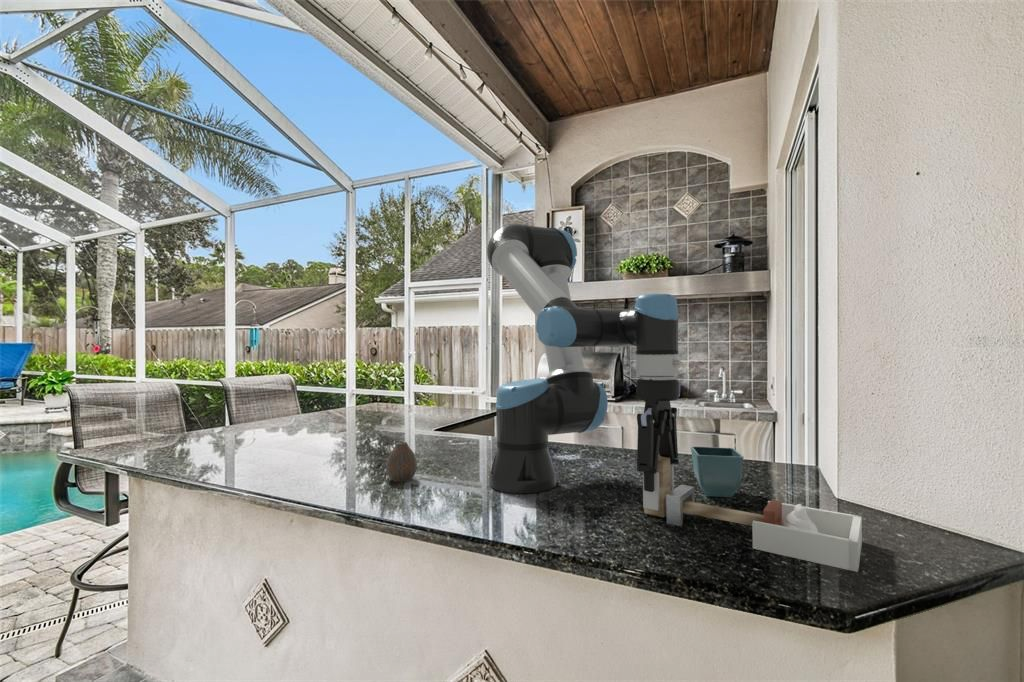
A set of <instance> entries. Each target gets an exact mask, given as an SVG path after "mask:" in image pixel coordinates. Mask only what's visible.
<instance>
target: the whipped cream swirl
mask: <svg viewBox="0 0 1024 682" xmlns="http://www.w3.org/2000/svg"><path fill="white" fill-rule="evenodd" d="M795 505H796V506H795V508H794V511H792V512H791V513H790V514H788V515H787V517H786V519H785V520H784V521H783V522H782V524H781V526H785V527H790V528H795V529H800V530H806V531H811V532H816V533H819V532H817V527H816V526H815V524H814V523H813V522H811V520H810V519H809V517H808V515H807V511H806V509H805V508H804V507H805V506H804V507H803V504H802V503H798V504H795Z"/></svg>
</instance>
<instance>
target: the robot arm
mask: <svg viewBox="0 0 1024 682" xmlns="http://www.w3.org/2000/svg"><path fill="white" fill-rule="evenodd" d="M486 255H487V261H488V262H489V265H490V267H492V269H493V270H494V272H495V273H497V274H498V275H499V276H502V277H505V279H506V281H508V283H510V285H511V286H512V287H513V289H514V290H515V291H516V292H517V293H518V295H519V296H520V297H521V299H522V300H523V302H524V303H525V304H526V305H527V306H528V308H530V310H531V311H532V313H533V314H534V315H535V317H536V323H535V325H536V326H535V330H536V331H535V332H536V333H537V338H538V339H539V342H540V343H541V344H542V345H544V348H545V354H546V361H547V367H548V375H547V376H546V377H545V379H544V378H530V379H529V378H528V379H521V380H513V381H510V382H505V383H504V384H502V385H500V386H499V387H498V388H497V390H496V391H497V392H496V403H495V408H496V411H495V412H496V413H495V414H496V452H495V455H494V459H493V462H492V465H491V470H490V472H489V486H490V487H491V488H492V489H494V490H497V491H500V492H504V493H513V494H533V493H534V494H535V493H541V492H542V493H543V492H545V491H548V490H551V489H554V488H555V487H556V486H557V473H556V471H555V467H554V463H553V461H552V458H551V454H550V450H549V436H552V435H553V436H554V435H561V434H562V435H563V434H574V433H578V434H582V433H585V432H590V431H594V430H596V429H598V428H599V427H600V426H601V425H602V424H603V423H604V420H605V417H606V416H607V412H608V405H609V404H608V395H607V392H606V389H605V387H603V386H602V384H601V383H599V382H596V381H594V378H593V373H592V371H591V370H589V369H587V368H586V367H585V365H584V361H583V355H582V350H581V349H582V347H605V348H606V347H608V348H609V347H610V348H620V347H636V349H635V350H636V351H635V375H636V376H637V377H639V378H638V379H637V380H636V398H637V399H638V400H640V401H642V400H643V401H644V402H645V403H644V408H643V413H637V414H636V422H637V448H636V449H637V450H636V452H637V453H636V470H637V472H642V503H643V504H642V506H643V507H642V508H643V509H644V508H647V509H652V510H657V511H658V510H660V501H659V473H658V472H657V464H658V456H661V457H668V458H670V485H671V491H672V490H674V489H675V480H674V479H675V478H674V477H675V475H674V469H675V468H674V465H678V464H679V462H680V459H679V452H678V451H679V450H678V449H679V448H678V432H677V431H678V429H677V416H678V415H677V414H678V409H677V407H674V406H673V407H672V406H671V401H677V400H679V398H680V381H679V380H678V379H676V377H678V376H679V366H681V364H682V361H681V360H680V359H679V318H680V316H679V309H678V300H677V298H676V297H677V296H675V295H673V294H671V293H670V294H668V293H649V294H647V293H646V294H641V295H638V296H637V297H636V298H635V304H634V308H623V309H618V308H617V309H614V308H613V309H612V308H591V307H590V308H589V307H588V308H586V307H585V308H583V307H579V306H577V305H576V304H575V302H573V301H572V298H571V294H570V293H571V292H570V288H569V283H568V279H569V278H570V277H571V275H572V271H573V269H574V268H575V266H576V264H577V259H576V258H577V256H578V248H577V245H576V241H575V239H574V238H573V236H572V234H571V233H569V232H568V231H566V230H564V229H558V228H557V227H545V226H544V227H543V226H542V227H541V226H535V225H528V224H527V225H526V224H520V223H519V224H518V223H513V224H508V225H504V226H502V227H501V228H499V229H497V230H496V231H495V232H494V233H493V235H491V237H490V239H489V241H488V243H487V250H486Z"/></svg>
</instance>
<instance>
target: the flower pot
mask: <svg viewBox="0 0 1024 682" xmlns="http://www.w3.org/2000/svg"><path fill="white" fill-rule="evenodd" d="M690 451H691V458H692V468H693V472H694V475H695V479H696V482H697V484H698V485H699V487H700V489H701V491H702V492H703V494H704V495H705V497H714V498H715V497H717V498H732V497H733V496H734V495H735V494H736V492H737V490H738V488H739V486H740V484H741V479H742V474H743V467H744V466H743V465H744V456H743V455H742V454H741V453H739V451H737V450H736V449H735V448H734V447H716V446H715V447H713V446H690Z"/></svg>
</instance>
